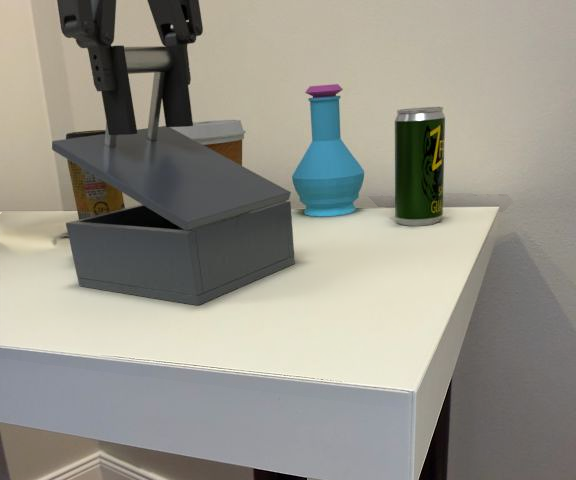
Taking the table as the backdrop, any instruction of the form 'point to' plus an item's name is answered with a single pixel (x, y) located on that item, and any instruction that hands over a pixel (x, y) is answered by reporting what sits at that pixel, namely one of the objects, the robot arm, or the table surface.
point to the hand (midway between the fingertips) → (152, 129)
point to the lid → (170, 163)
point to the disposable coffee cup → (218, 137)
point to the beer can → (419, 165)
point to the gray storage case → (180, 252)
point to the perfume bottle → (327, 160)
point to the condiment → (92, 188)
